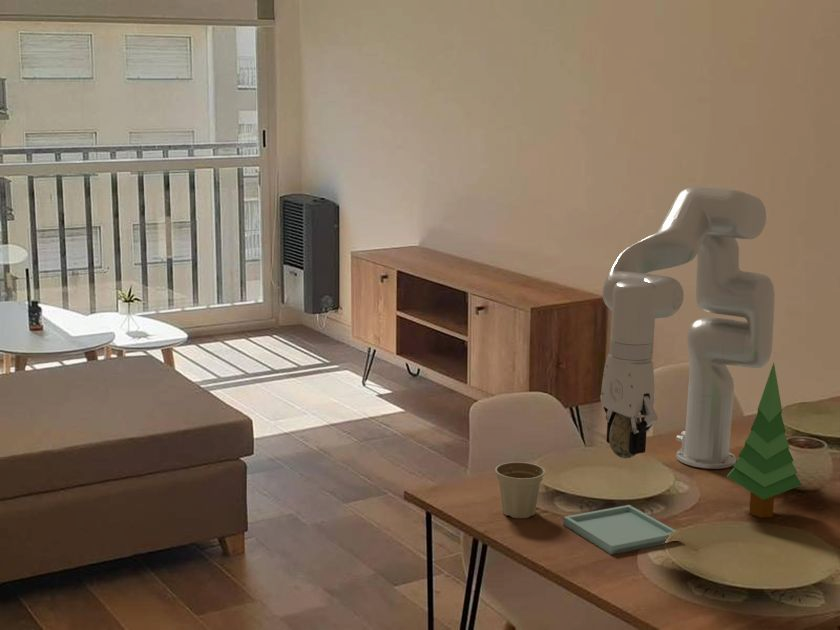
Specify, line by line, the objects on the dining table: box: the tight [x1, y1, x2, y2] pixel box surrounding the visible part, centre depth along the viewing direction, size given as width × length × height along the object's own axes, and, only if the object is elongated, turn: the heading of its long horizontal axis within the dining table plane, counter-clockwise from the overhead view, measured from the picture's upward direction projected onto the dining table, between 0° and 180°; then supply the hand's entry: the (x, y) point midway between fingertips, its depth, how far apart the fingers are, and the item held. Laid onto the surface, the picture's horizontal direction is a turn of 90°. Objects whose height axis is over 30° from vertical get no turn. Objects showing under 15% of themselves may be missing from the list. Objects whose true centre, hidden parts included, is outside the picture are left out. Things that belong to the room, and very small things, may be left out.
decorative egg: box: [609, 413, 641, 459], centre depth 212 cm, size 6×6×10 cm
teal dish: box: [562, 504, 677, 556], centre depth 216 cm, size 15×15×2 cm
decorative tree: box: [726, 362, 803, 518], centre depth 224 cm, size 14×16×30 cm
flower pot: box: [494, 461, 546, 519], centre depth 224 cm, size 9×9×9 cm
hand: (625, 446), depth 213 cm, fingers closed on decorative egg, 6 cm apart
